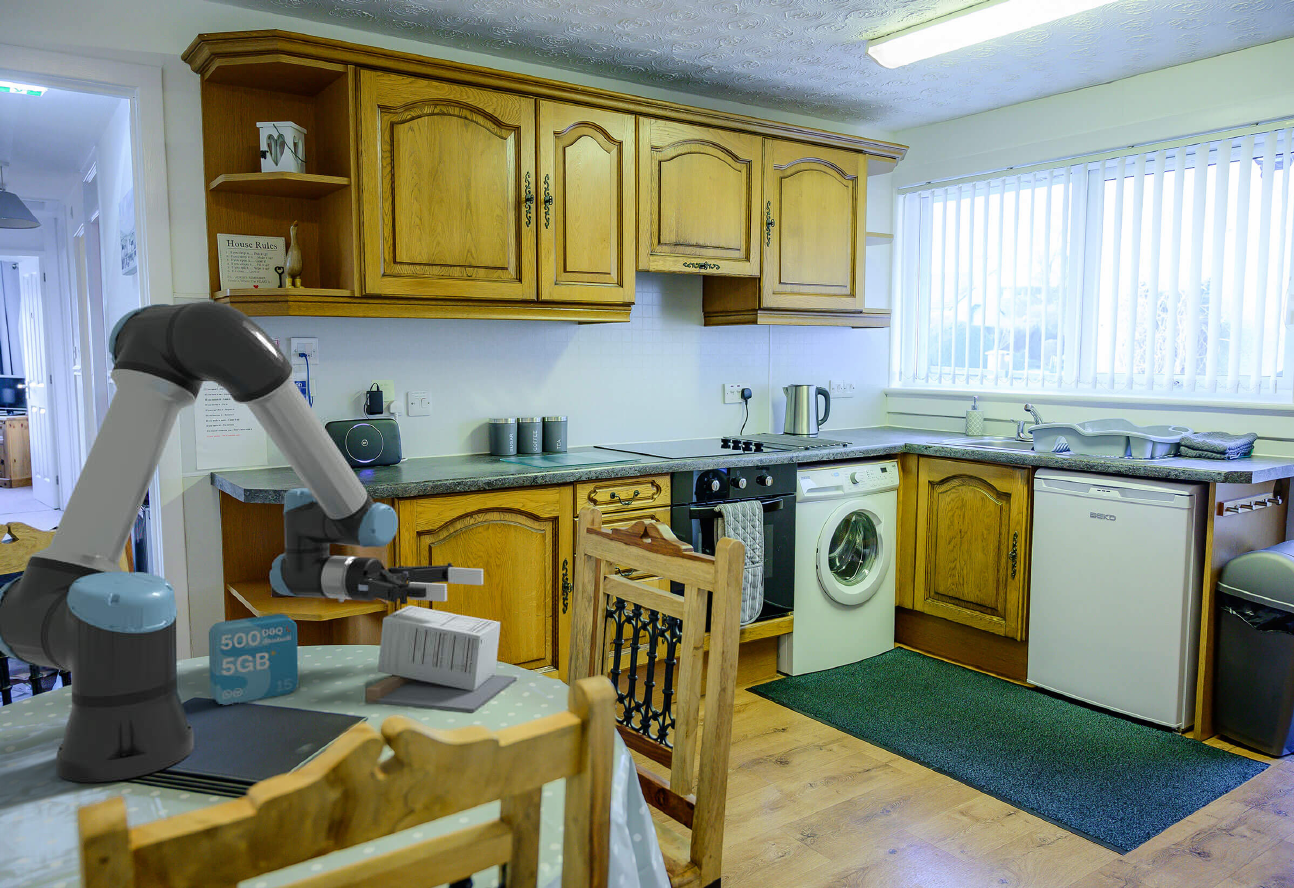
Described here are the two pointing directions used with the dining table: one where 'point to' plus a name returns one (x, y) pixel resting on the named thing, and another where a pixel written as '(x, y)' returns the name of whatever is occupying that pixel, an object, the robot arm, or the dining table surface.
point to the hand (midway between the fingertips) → (465, 584)
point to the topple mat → (435, 693)
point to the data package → (253, 658)
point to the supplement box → (439, 647)
